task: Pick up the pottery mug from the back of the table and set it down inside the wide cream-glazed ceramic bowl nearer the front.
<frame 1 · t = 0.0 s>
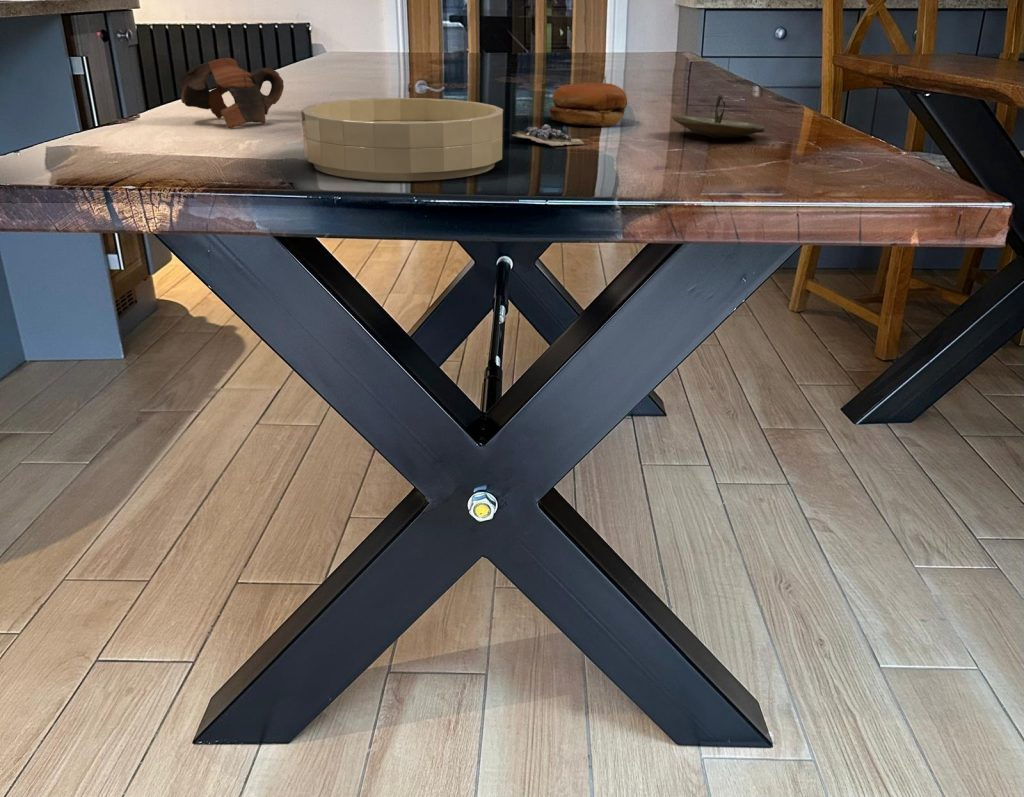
lid: (717, 139, 109), on the table
blueberries: (549, 143, 104), on the table
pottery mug: (236, 124, 114), on the table
bowl: (405, 164, 90), on the table
burger: (587, 123, 119), on the table
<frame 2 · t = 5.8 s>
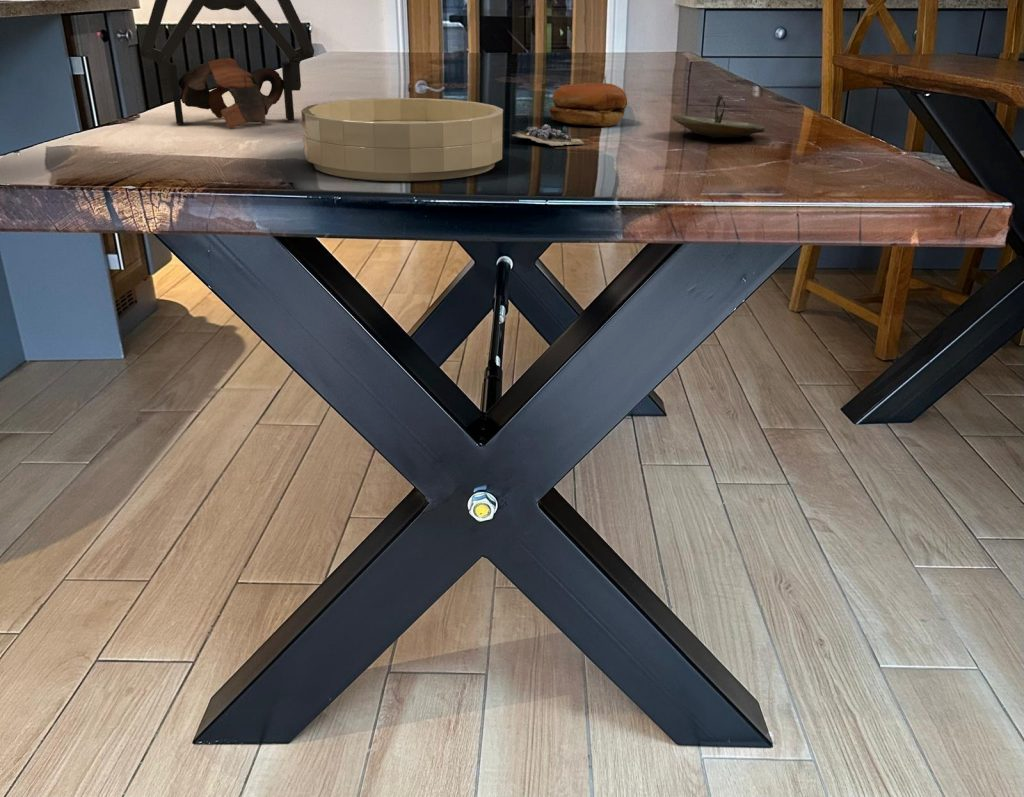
hand: (235, 120, 114), 0 cm above the table, tool pointing down, fingers closed on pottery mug, 12 cm apart
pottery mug: (236, 124, 114), on the table, touching gripper
everything else where it was.
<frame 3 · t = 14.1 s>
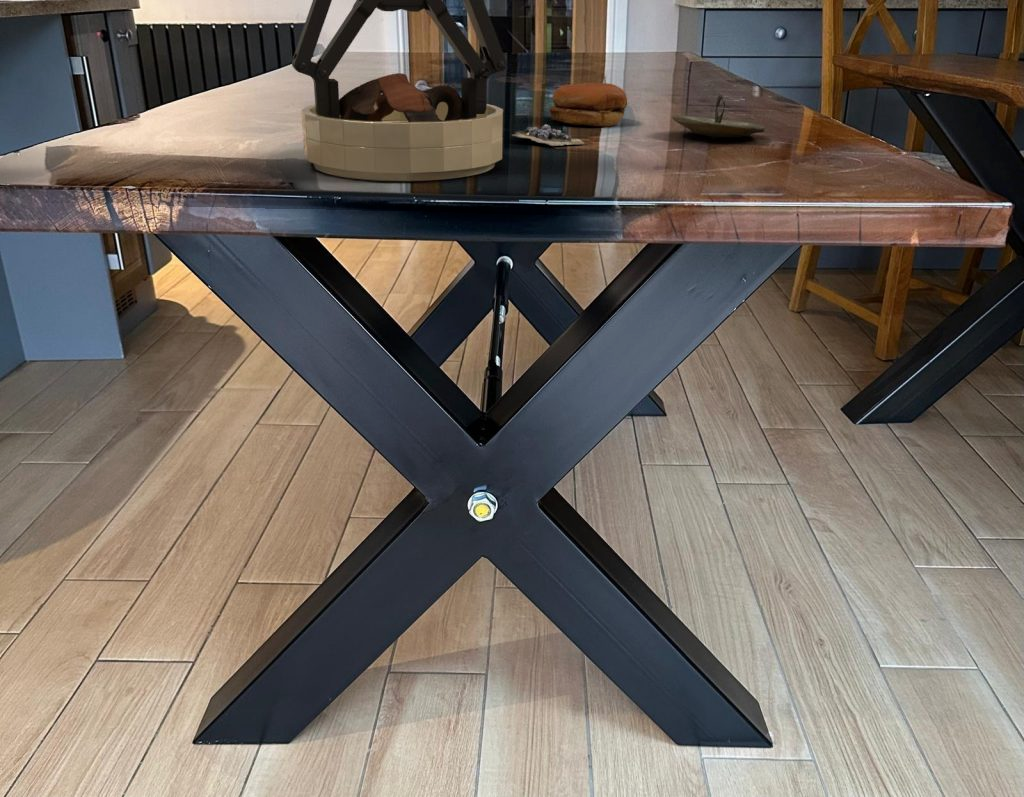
hand: (403, 152, 90), 1 cm above the table, tool pointing down, fingers closed on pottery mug, 12 cm apart
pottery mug: (404, 156, 90), point 1 cm above the table, touching gripper
everything else where it was.
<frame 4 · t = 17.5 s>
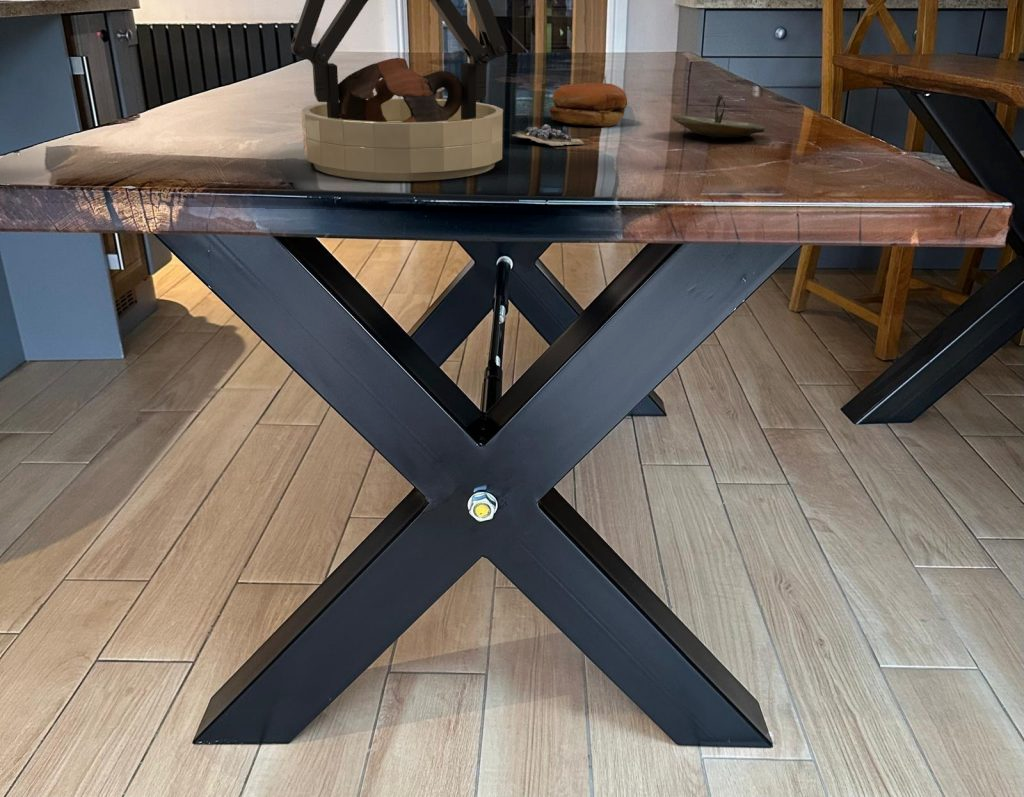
hand: (402, 137, 89), 2 cm above the table, tool pointing down, fingers closed on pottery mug, 12 cm apart
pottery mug: (403, 142, 89), point 2 cm above the table, touching gripper
everything else where it was.
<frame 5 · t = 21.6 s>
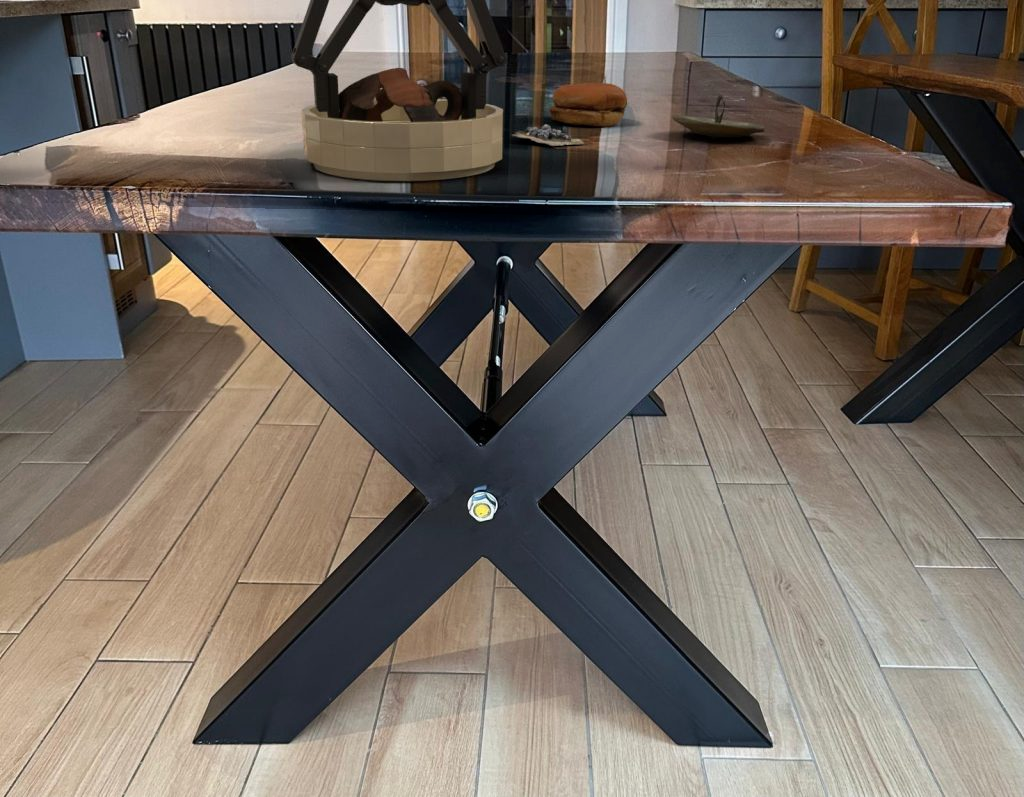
hand: (403, 147, 90), 2 cm above the table, tool pointing down, fingers closed on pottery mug, 12 cm apart
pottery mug: (403, 151, 90), point 1 cm above the table, touching gripper
everything else where it was.
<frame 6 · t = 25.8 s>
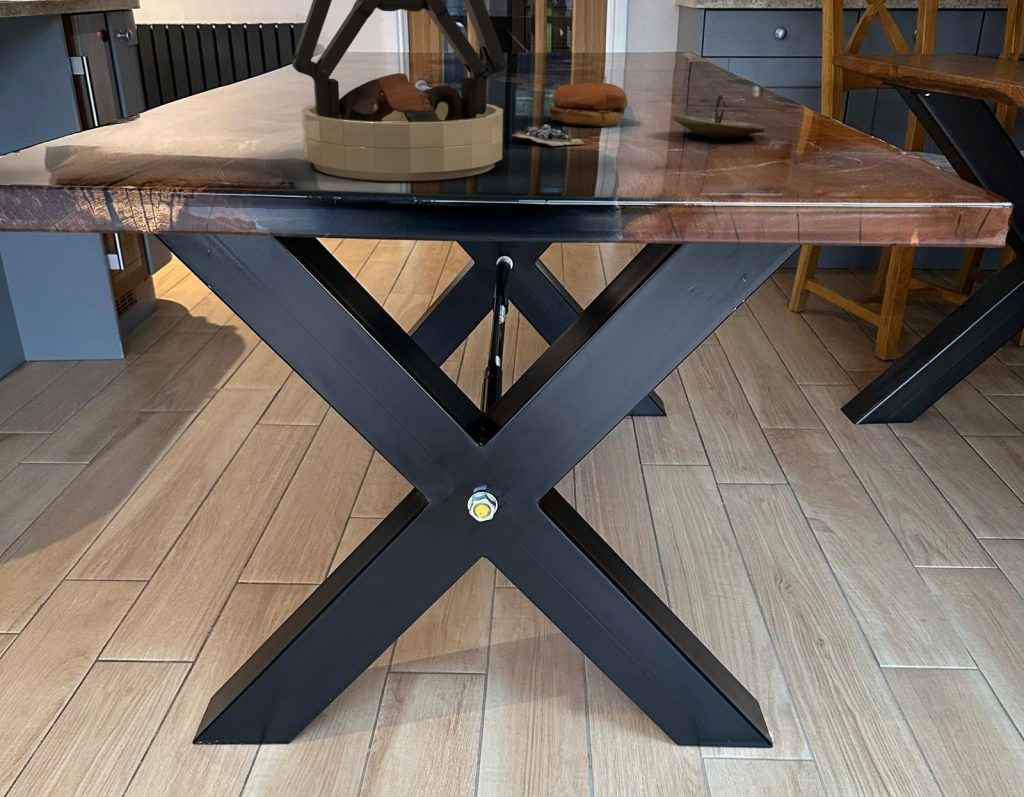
hand: (403, 152, 90), 1 cm above the table, tool pointing down, fingers closed on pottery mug, 12 cm apart
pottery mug: (404, 156, 90), point 1 cm above the table, touching gripper
everything else where it was.
when the fingers open (2 cm above the table, at t = 29.2 s): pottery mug drops 1 cm, resting on bowl.
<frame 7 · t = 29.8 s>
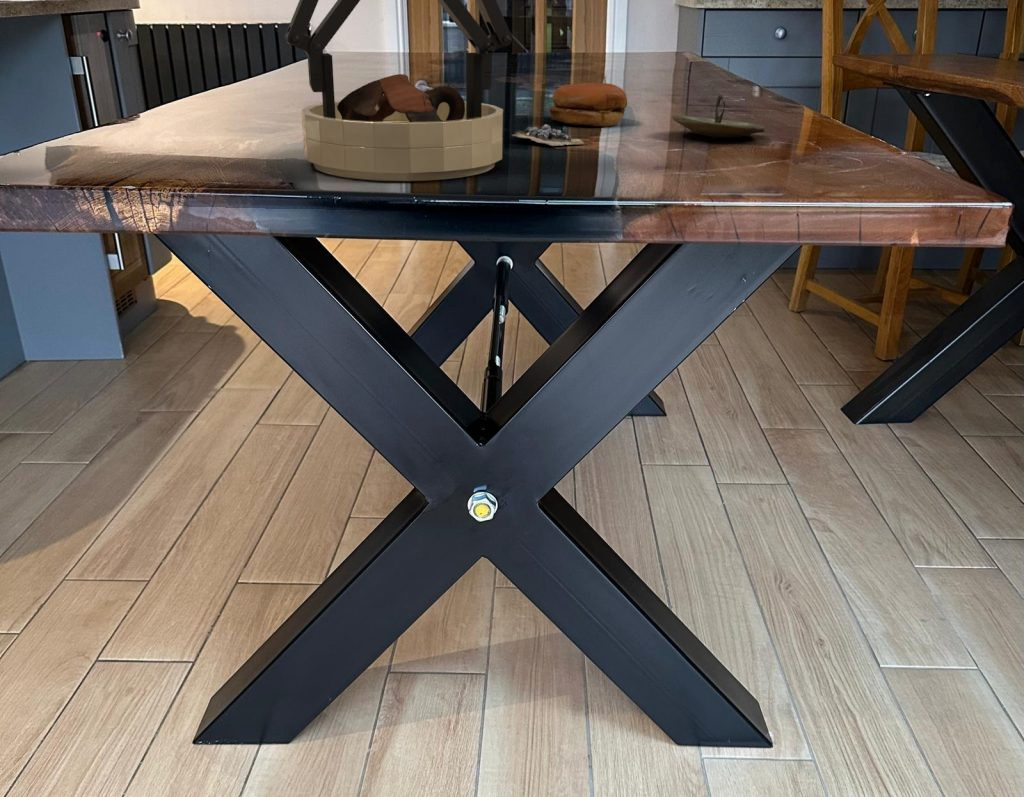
hand: (403, 128, 89), 3 cm above the table, tool pointing down, fingers open, 13 cm apart
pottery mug: (406, 157, 90), point 1 cm above the table, touching bowl
everything else where it was.
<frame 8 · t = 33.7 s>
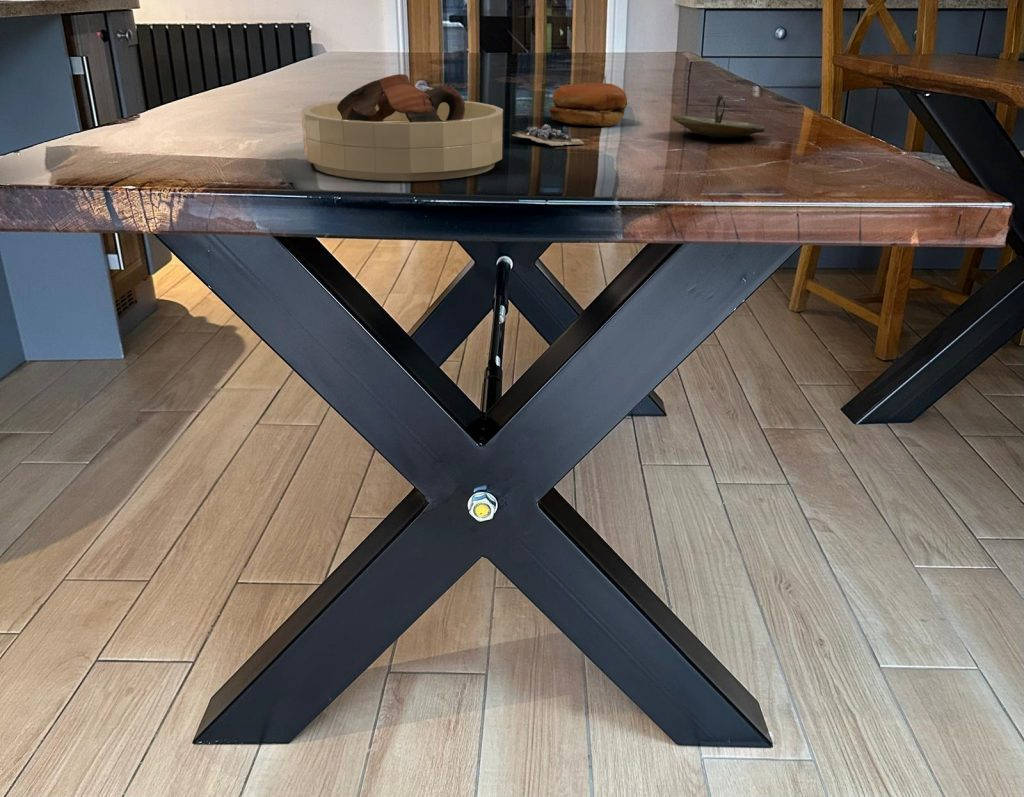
nothing on the table moved.
at the end: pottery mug 0.1 cm off-centre in the bowl, point 0.6 cm above the bowl's base; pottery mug tilted 0°; the gripper is holding nothing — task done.
